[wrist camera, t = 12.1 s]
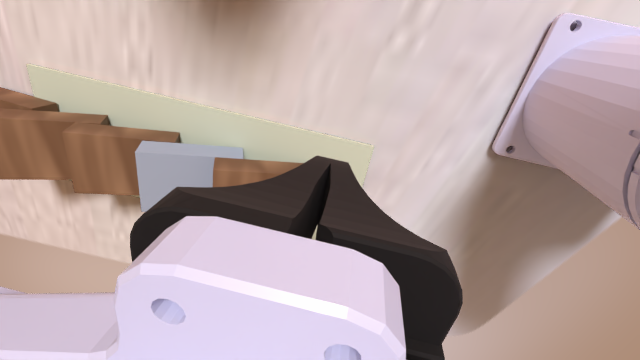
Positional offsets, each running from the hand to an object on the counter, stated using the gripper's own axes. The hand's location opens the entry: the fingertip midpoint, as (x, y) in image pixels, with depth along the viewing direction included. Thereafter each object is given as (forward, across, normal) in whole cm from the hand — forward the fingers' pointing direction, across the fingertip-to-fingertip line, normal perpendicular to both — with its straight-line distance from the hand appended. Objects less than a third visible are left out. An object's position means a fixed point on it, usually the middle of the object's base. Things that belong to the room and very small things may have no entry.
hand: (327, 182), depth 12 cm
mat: (+10, +10, +6) cm, 15 cm away
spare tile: (+8, +6, +6) cm, 12 cm away
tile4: (+8, +16, +6) cm, 19 cm away
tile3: (+8, +11, +6) cm, 15 cm away
